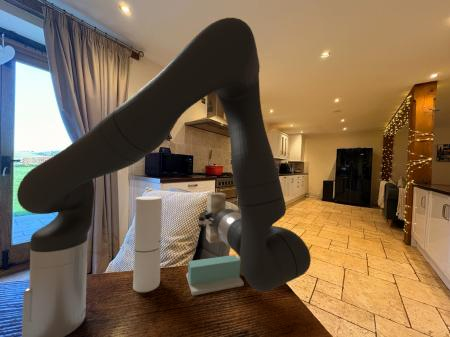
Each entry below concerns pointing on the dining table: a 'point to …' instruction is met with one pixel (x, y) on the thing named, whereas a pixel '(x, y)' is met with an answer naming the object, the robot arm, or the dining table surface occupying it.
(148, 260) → the cylindrical container
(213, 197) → the ash post
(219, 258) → the stand
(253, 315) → the dining table surface
